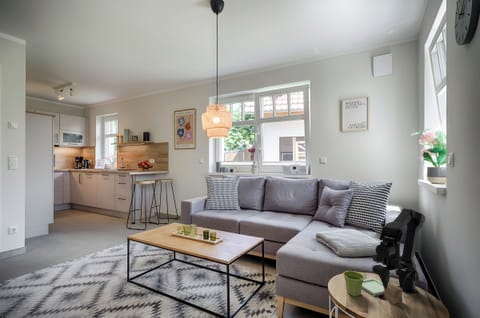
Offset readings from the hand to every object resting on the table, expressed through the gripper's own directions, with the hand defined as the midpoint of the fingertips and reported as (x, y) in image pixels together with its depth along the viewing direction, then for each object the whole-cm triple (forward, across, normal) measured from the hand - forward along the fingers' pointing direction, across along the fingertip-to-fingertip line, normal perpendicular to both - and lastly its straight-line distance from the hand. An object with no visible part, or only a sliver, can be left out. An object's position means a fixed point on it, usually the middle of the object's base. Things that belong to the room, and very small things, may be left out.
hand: (393, 286), depth 112 cm
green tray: (+6, 0, -11) cm, 12 cm away
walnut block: (+6, 0, 0) cm, 6 cm away
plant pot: (+6, +13, -10) cm, 18 cm away
